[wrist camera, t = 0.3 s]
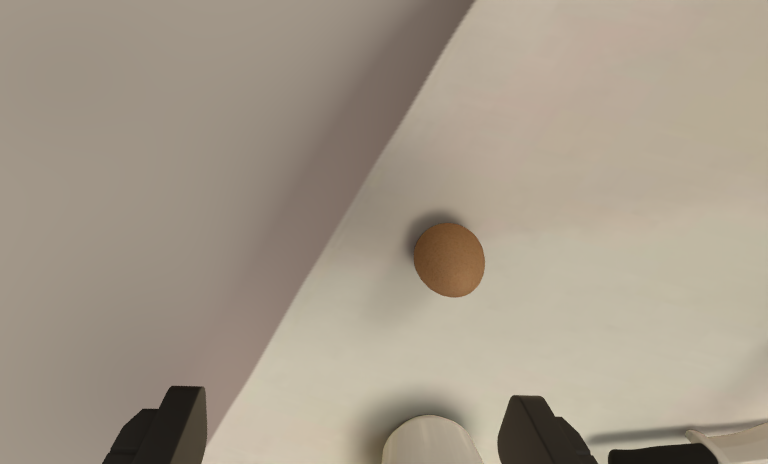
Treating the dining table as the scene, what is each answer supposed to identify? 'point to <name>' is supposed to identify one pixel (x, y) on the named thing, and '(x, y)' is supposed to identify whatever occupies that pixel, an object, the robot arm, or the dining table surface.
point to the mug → (430, 443)
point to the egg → (449, 260)
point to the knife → (703, 450)
